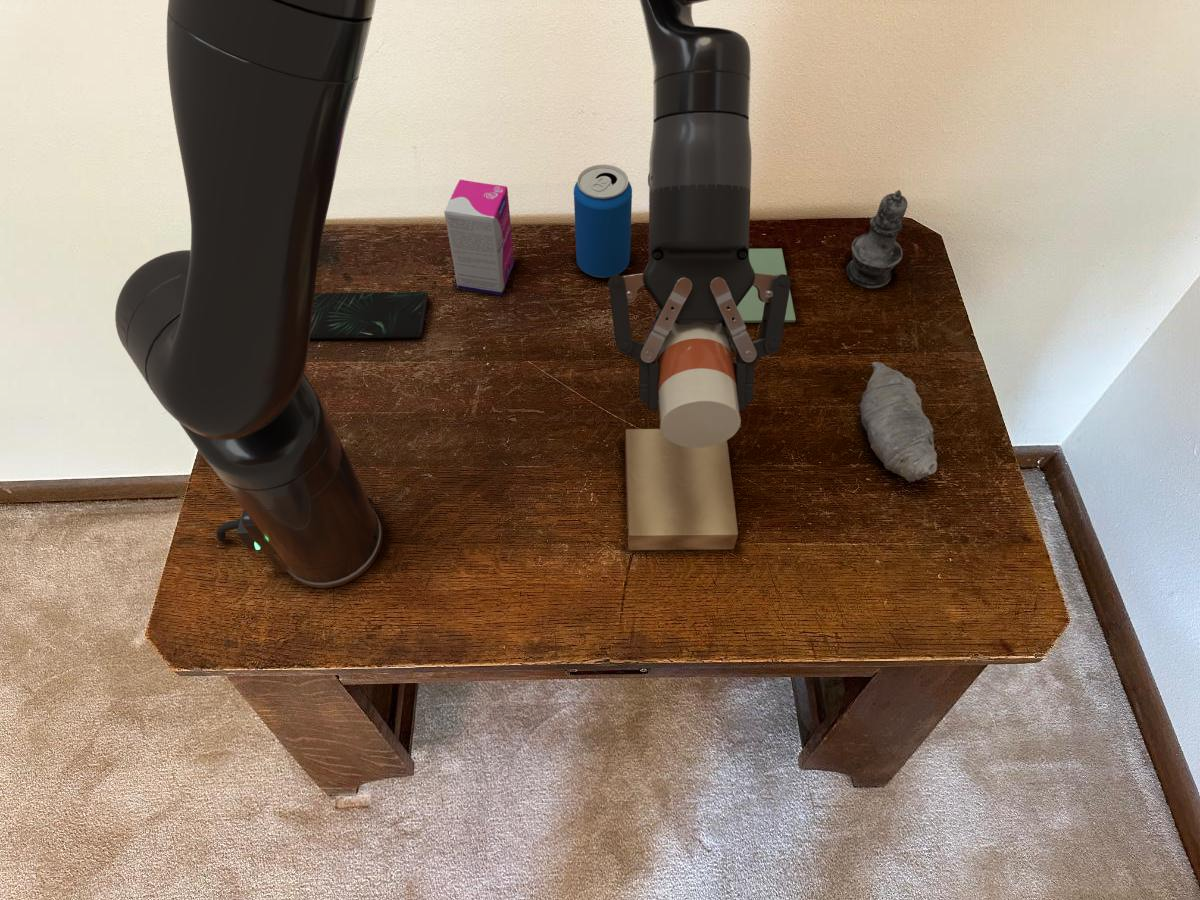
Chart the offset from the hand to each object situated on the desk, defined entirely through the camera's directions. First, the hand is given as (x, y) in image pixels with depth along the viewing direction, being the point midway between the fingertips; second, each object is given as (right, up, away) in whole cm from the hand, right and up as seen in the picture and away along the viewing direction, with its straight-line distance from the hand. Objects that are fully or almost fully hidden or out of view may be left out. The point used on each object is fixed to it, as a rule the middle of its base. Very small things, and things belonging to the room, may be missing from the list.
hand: (695, 409), depth 62 cm
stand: (0, -8, +16) cm, 18 cm away
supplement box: (-21, +18, +34) cm, 43 cm away
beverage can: (-7, +19, +35) cm, 40 cm away
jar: (0, +1, +3) cm, 3 cm away
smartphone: (-35, +12, +30) cm, 47 cm away
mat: (+9, +16, +32) cm, 37 cm away
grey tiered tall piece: (+25, +18, +34) cm, 46 cm away
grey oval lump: (+22, -2, +20) cm, 30 cm away
